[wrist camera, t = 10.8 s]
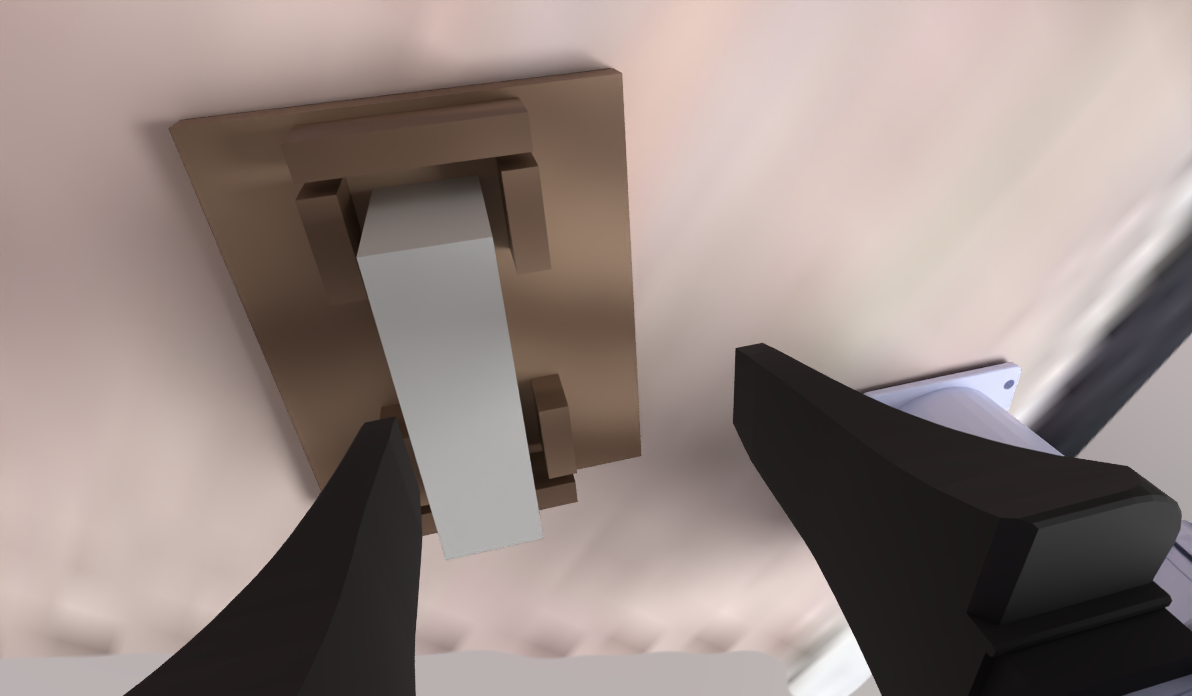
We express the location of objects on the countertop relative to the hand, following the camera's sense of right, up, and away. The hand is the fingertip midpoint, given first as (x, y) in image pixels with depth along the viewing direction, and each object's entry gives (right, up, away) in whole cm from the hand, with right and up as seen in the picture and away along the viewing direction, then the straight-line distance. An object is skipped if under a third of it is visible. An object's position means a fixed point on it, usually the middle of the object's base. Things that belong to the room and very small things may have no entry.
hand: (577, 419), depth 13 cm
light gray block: (-4, +2, +8) cm, 9 cm away
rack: (-4, +3, +8) cm, 10 cm away
